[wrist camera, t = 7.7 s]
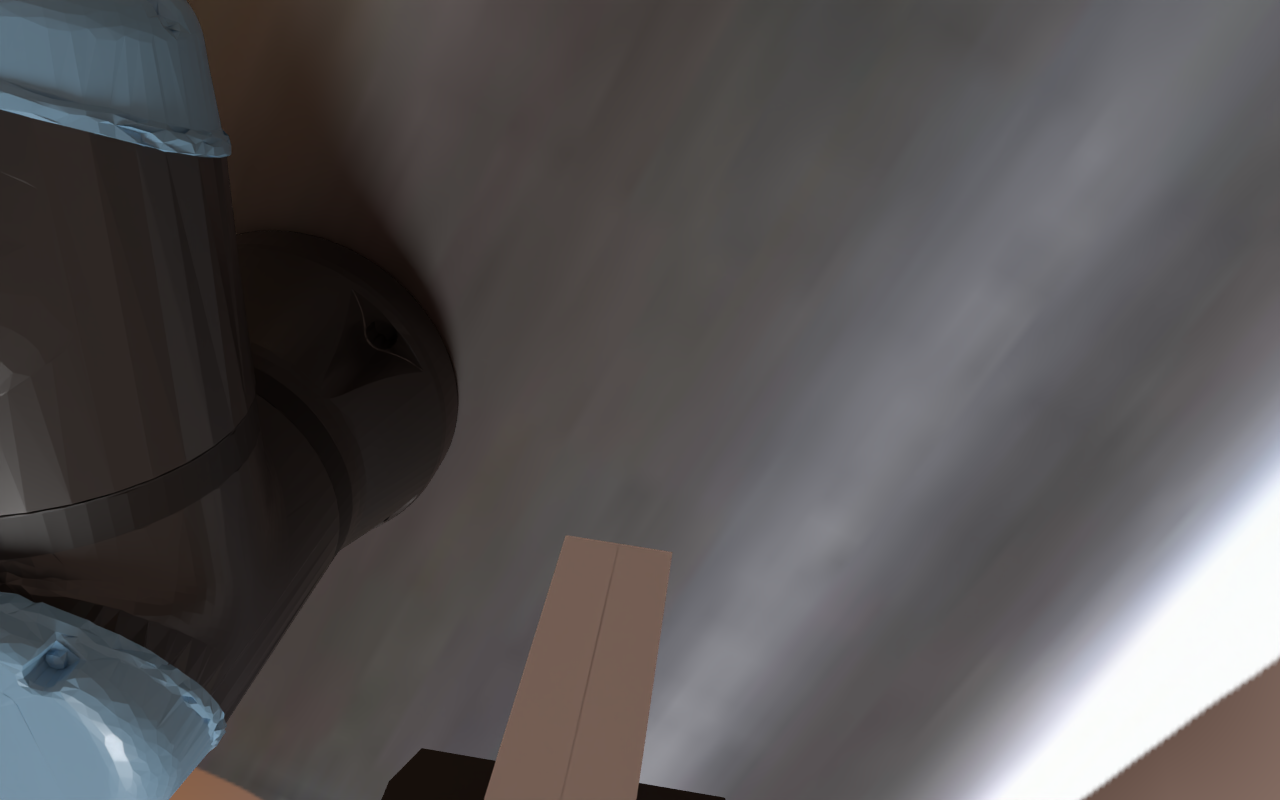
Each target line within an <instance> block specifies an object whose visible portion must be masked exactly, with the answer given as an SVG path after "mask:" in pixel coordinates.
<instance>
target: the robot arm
mask: <svg viewBox="0 0 1280 800" xmlns="http://www.w3.org/2000/svg"><path fill="white" fill-rule="evenodd" d="M230 155H231V143H230V139H229V136H228V134H226V133H225V132H224V131H223V130H222V128H221V123H220V118H219V113H218V108H217V103H216V98H215V93H214V89H213V84H212V79H211V74H210V69H209V64H208V58H207V52H206V46H205V41H204V36H203V32H202V29H201V26H200V23H199V21H198V19H197V17H196V15H195V13H194V11H193V9H192V8H191V6H190V5H189V3H188V2H187V1H186V0H0V800H169V799H170V797H171V796H172V795H173V794H174V793H175V791H176V790H177V789H178V788H179V787H180V785H181V784H182V783H183V782H184V781H185V780H186V778H187V777H188V776H189V775H190V773H191V772H192V771H193V770H194V769H195V768H196V766H197V765H198V764H199V763H200V762H201V760H202V759H203V758H204V757H205V756H206V754H207V753H208V752H209V751H211V750H212V749H213V748H215V747H216V746H217V744H218V743H219V741H220V739H221V738H222V736H223V735H224V734H225V732H226V731H225V730H224V729H225V728H226V727H227V725H226V722H227V721H228V719H229V718H230V716H231V715H232V713H233V712H234V710H235V709H236V707H237V705H238V704H239V702H240V701H241V699H242V698H243V696H244V695H245V693H246V692H247V690H248V689H249V687H250V686H251V684H252V683H253V681H254V680H255V678H256V677H257V675H258V674H259V672H260V670H261V669H262V667H263V666H264V664H265V663H266V661H267V660H268V658H269V657H270V655H271V654H272V652H273V651H274V649H275V648H276V646H277V645H278V643H279V642H280V640H281V638H282V637H283V635H284V634H285V632H286V631H287V629H288V628H289V626H290V625H291V623H292V622H293V620H294V619H295V617H296V616H297V614H298V613H299V611H300V610H301V608H302V607H303V605H304V603H305V602H306V600H307V599H308V597H309V596H310V594H311V593H312V591H313V590H314V588H315V587H316V585H317V584H318V582H319V581H320V579H321V578H322V576H323V575H324V573H325V572H326V570H327V568H328V567H329V565H330V563H331V562H332V560H333V559H334V557H335V556H336V555H337V553H338V552H339V551H340V550H341V549H343V548H344V547H346V546H347V545H349V544H350V543H352V542H353V541H355V540H356V539H358V538H359V537H361V536H362V535H364V534H365V533H367V532H368V531H370V530H371V529H373V528H376V527H378V526H380V525H381V524H383V523H385V522H387V521H389V520H390V519H392V518H394V517H395V516H397V515H398V514H400V513H401V512H403V511H404V510H405V509H406V508H407V507H408V506H410V505H411V504H412V503H413V502H414V501H415V500H416V499H417V498H418V496H419V495H420V494H421V493H422V492H423V491H424V489H425V488H426V487H427V485H428V484H429V482H430V481H431V479H432V478H433V476H434V474H435V472H436V471H437V469H438V467H439V466H440V464H441V462H442V461H443V459H444V457H445V455H446V453H447V451H448V449H449V447H450V444H451V442H452V439H453V435H454V432H455V427H456V421H457V411H458V398H457V387H456V380H455V376H454V371H453V368H452V364H451V361H450V358H449V355H448V353H447V350H446V348H445V345H444V343H443V341H442V339H441V337H440V335H439V333H438V332H437V330H436V328H435V326H434V325H433V323H432V322H431V320H430V319H429V317H428V316H427V314H426V313H425V312H424V310H423V309H422V307H421V306H420V305H419V304H418V303H417V301H416V300H415V299H414V298H413V297H412V296H411V295H410V294H409V293H408V292H407V291H406V290H405V288H404V287H402V286H401V285H400V284H399V283H398V282H397V281H396V280H395V279H394V278H392V277H391V276H390V275H389V274H387V273H386V272H385V271H384V270H382V269H381V268H379V267H378V266H377V265H375V264H374V263H372V262H371V261H369V260H367V259H366V258H364V257H363V256H361V255H359V254H357V253H355V252H353V251H351V250H349V249H347V248H345V247H343V246H340V245H338V244H335V243H333V242H330V241H327V240H324V239H321V238H318V237H314V236H310V235H306V234H301V233H294V232H286V231H255V232H248V233H242V234H238V235H236V233H235V225H234V216H233V208H232V199H231V191H230V182H229V174H228V165H227V157H226V156H230ZM671 558H672V552H667V551H661V550H655V549H649V548H642V547H636V546H630V545H624V544H617V543H611V542H605V541H598V540H592V539H586V538H580V537H573V536H567V535H566V536H565V539H564V543H563V546H562V549H561V552H560V556H559V559H558V562H557V565H556V568H555V572H554V575H553V578H552V581H551V585H550V588H549V591H548V594H547V598H546V601H545V604H544V607H543V610H542V614H541V617H540V620H539V623H538V627H537V630H536V633H535V636H534V639H533V643H532V646H531V649H530V652H529V656H528V659H527V662H526V665H525V668H524V672H523V675H522V678H521V681H520V685H519V688H518V691H517V694H516V697H515V701H514V704H513V707H512V710H511V714H510V717H509V720H508V723H507V726H506V730H505V733H504V736H503V739H502V743H501V746H500V749H499V752H498V756H497V759H496V761H493V760H487V759H481V758H476V757H470V756H464V755H458V754H452V753H447V752H441V751H435V750H429V749H423V748H422V749H421V750H420V751H419V752H418V753H417V754H416V755H415V756H414V757H413V758H412V759H411V760H410V761H409V762H408V763H407V764H406V765H405V766H404V767H403V768H402V769H401V770H400V771H399V772H398V773H397V774H396V775H395V776H394V777H393V778H392V779H391V780H390V781H389V783H388V785H387V788H386V790H385V792H384V795H383V797H382V799H381V800H725V798H723V797H717V796H711V795H706V794H700V793H694V792H688V791H682V790H677V789H671V788H665V787H659V786H653V785H647V784H642V783H639V778H640V771H641V764H642V758H643V751H644V744H645V737H646V730H647V723H648V716H649V709H650V702H651V695H652V689H653V682H654V675H655V668H656V661H657V654H658V647H659V640H660V633H661V627H662V620H663V613H664V606H665V599H666V592H667V585H668V578H669V571H670V564H671Z"/></svg>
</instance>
